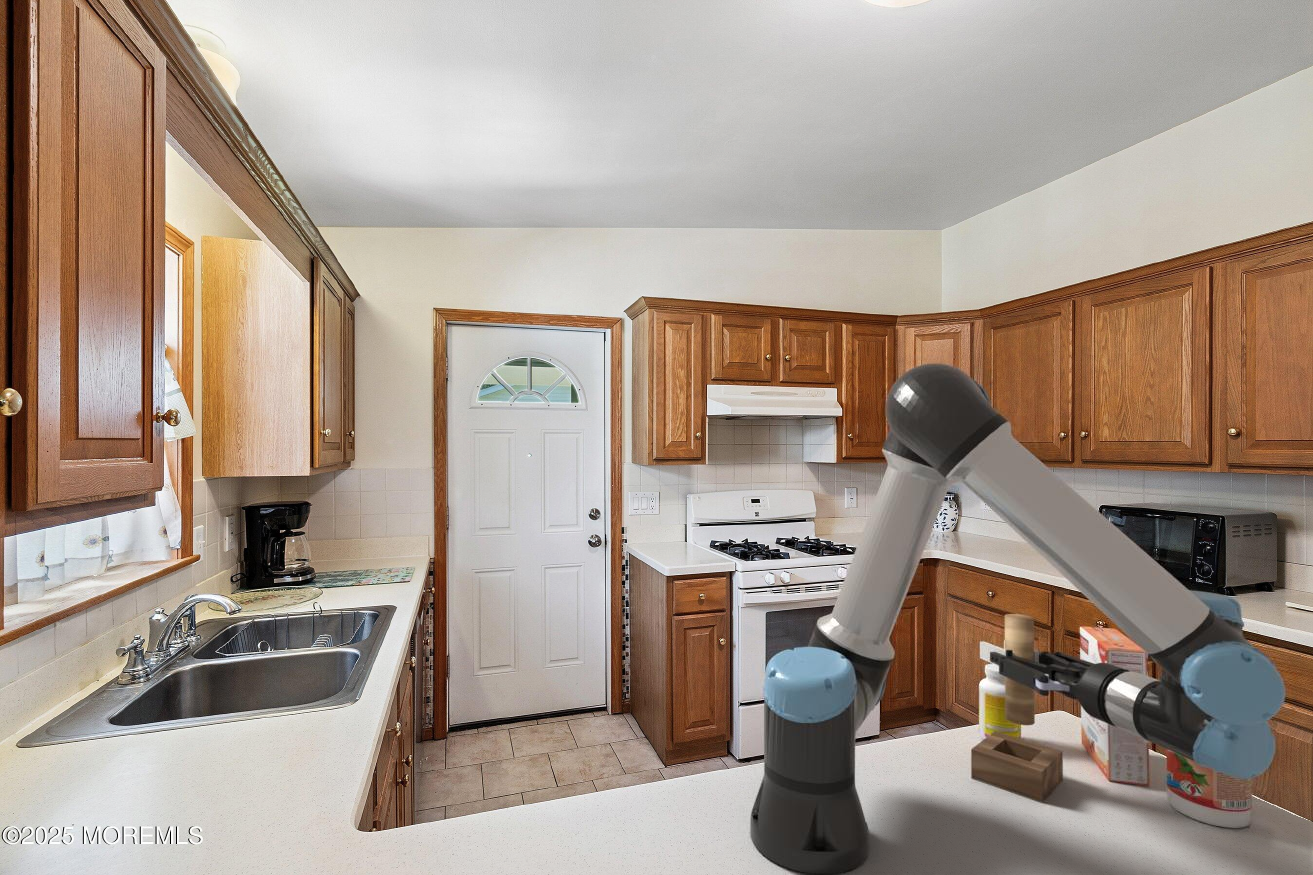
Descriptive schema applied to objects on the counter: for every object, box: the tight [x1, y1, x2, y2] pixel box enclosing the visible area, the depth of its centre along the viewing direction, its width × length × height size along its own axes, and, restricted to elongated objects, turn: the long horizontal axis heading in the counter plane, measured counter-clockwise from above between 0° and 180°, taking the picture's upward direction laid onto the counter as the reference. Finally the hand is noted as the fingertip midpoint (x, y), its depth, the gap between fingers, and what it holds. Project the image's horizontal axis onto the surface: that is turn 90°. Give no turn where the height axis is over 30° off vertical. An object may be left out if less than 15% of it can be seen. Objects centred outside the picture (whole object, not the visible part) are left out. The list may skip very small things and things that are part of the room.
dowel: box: [1004, 613, 1036, 726], centre depth 104 cm, size 4×4×16 cm
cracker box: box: [1079, 626, 1151, 787], centre depth 110 cm, size 14×6×21 cm, turn 162°
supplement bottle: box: [978, 663, 1022, 741], centre depth 118 cm, size 7×7×13 cm
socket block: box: [970, 731, 1064, 804], centre depth 104 cm, size 10×10×4 cm
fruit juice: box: [1165, 748, 1253, 829], centre depth 96 cm, size 9×9×28 cm
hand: (994, 648), depth 110 cm, fingers closed on dowel, 4 cm apart
